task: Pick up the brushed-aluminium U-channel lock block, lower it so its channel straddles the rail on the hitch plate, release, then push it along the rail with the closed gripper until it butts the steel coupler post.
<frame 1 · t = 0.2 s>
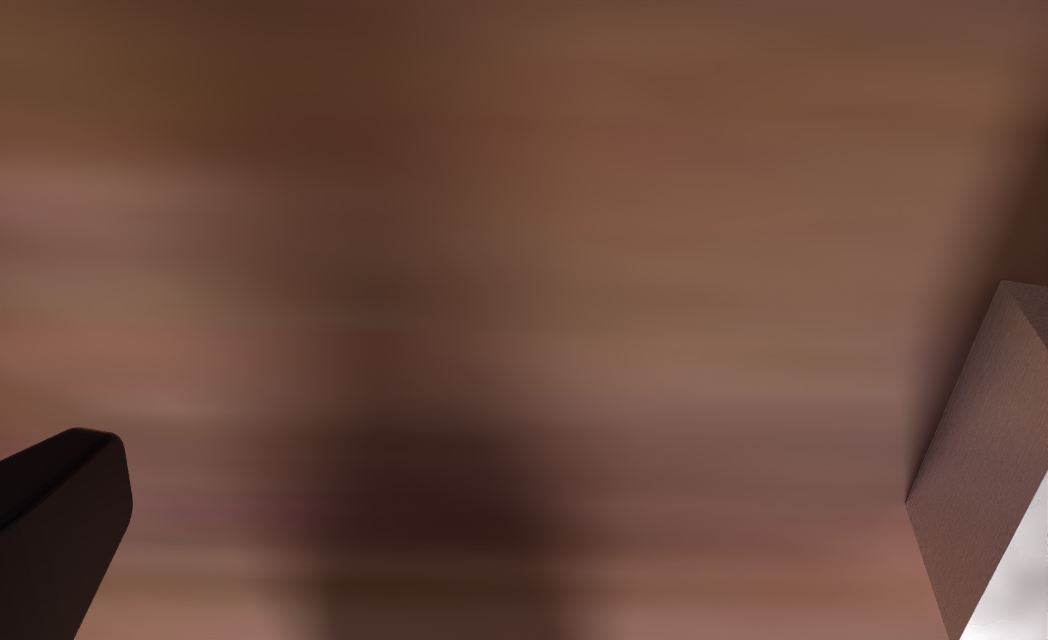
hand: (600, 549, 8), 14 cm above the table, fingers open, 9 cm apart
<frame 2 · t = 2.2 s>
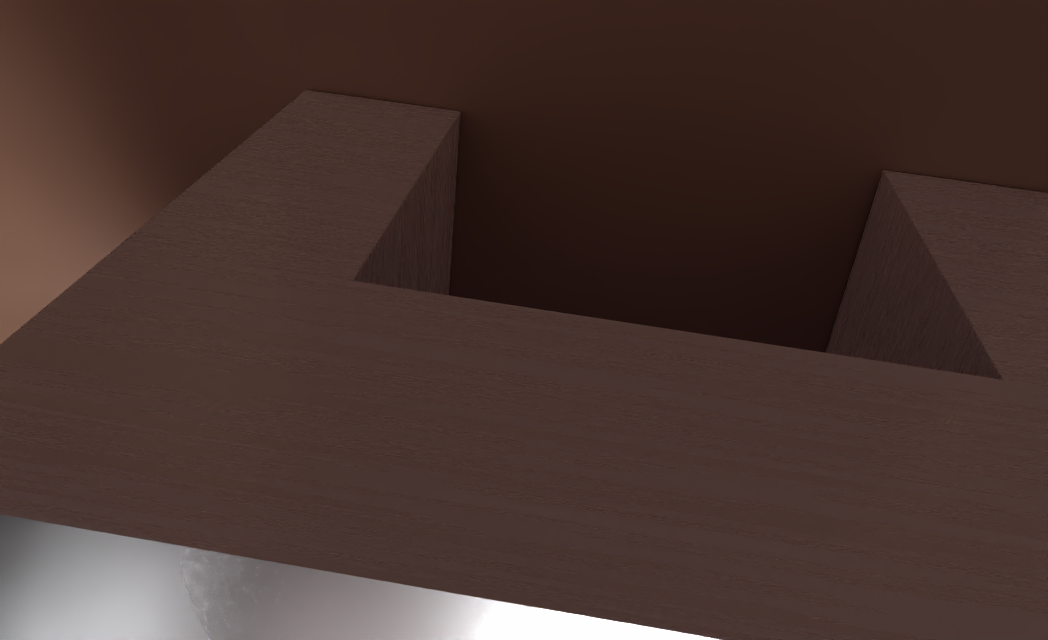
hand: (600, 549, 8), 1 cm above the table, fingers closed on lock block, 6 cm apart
lock block: (606, 475, 9), on the table, touching gripper
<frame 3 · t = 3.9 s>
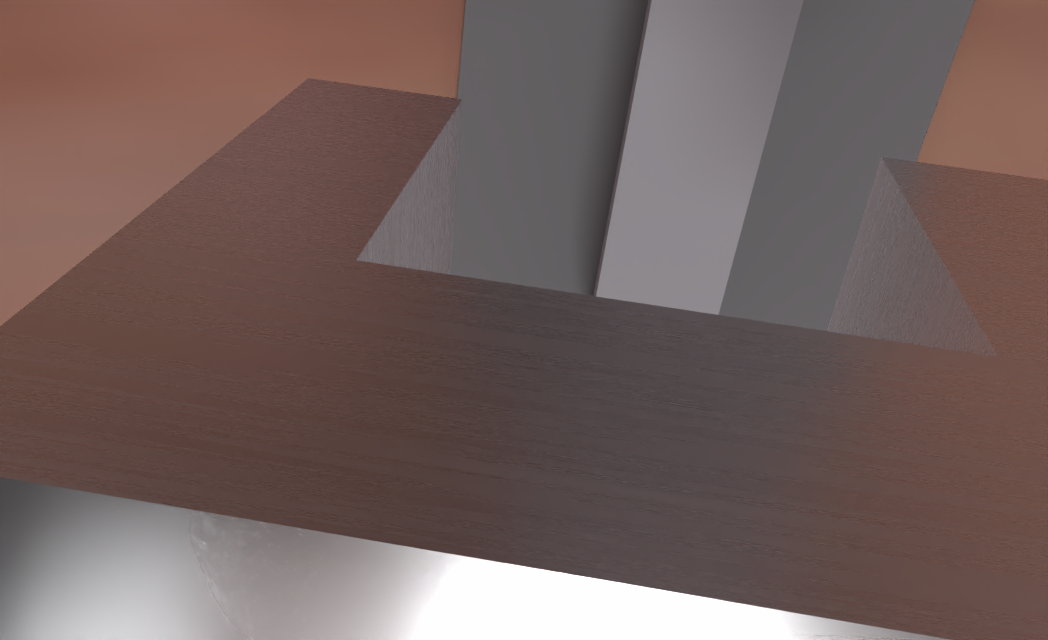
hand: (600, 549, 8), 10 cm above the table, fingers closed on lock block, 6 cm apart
lock block: (606, 463, 9), point 9 cm above the table, touching gripper
when the fingers open (3 cm above the table, at t = 5.7 s): lock block drops 1 cm, resting on hitch plate.
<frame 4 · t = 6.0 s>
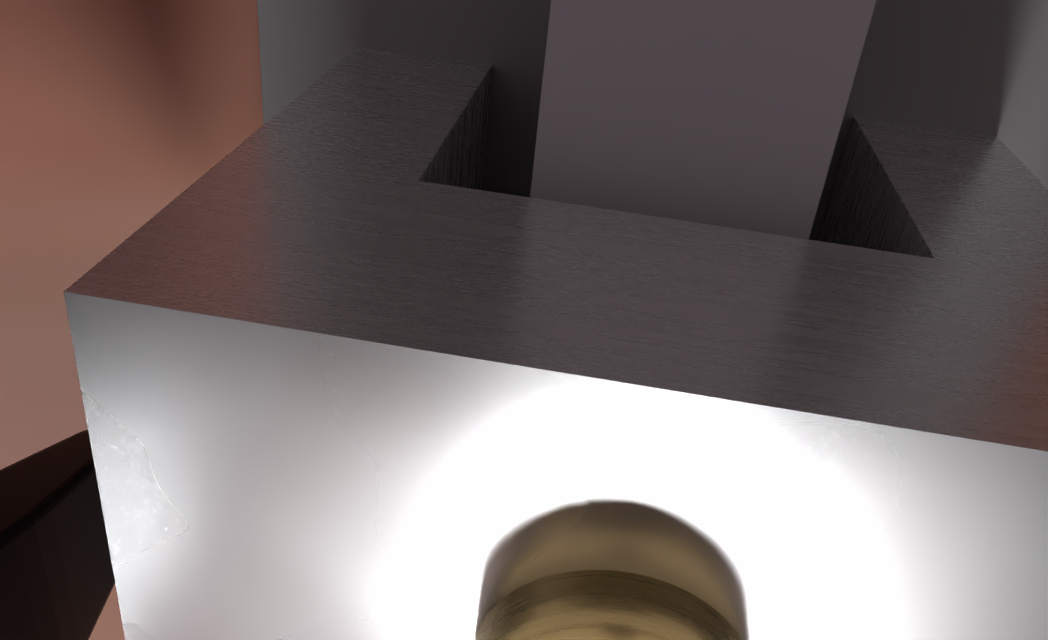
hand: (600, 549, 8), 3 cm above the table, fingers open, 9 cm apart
hitch plate: (681, 23, 9), on the table
lock block: (613, 393, 10), resting on hitch plate
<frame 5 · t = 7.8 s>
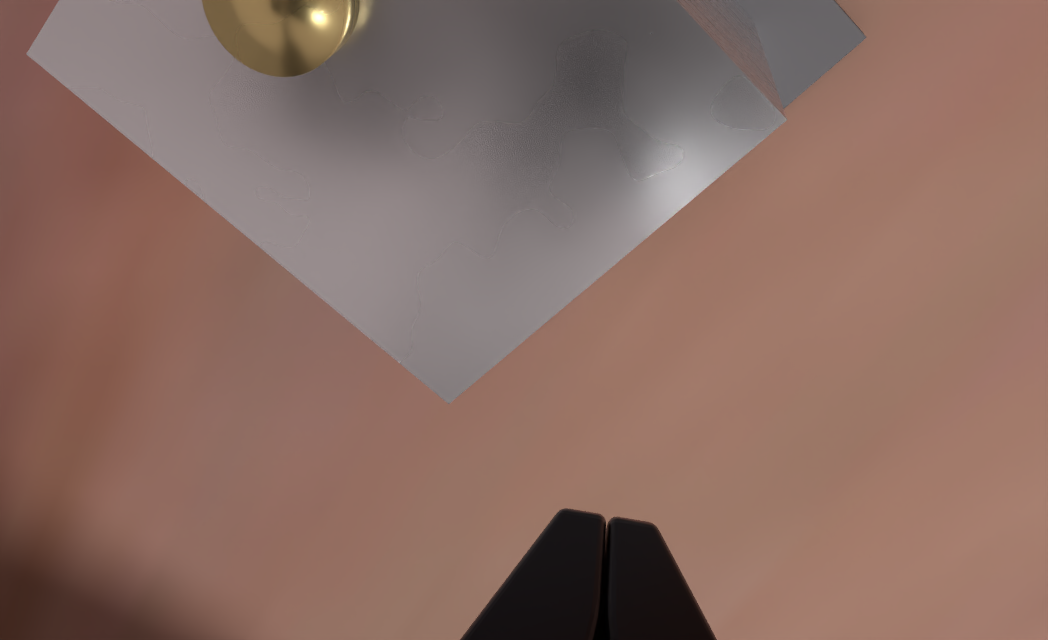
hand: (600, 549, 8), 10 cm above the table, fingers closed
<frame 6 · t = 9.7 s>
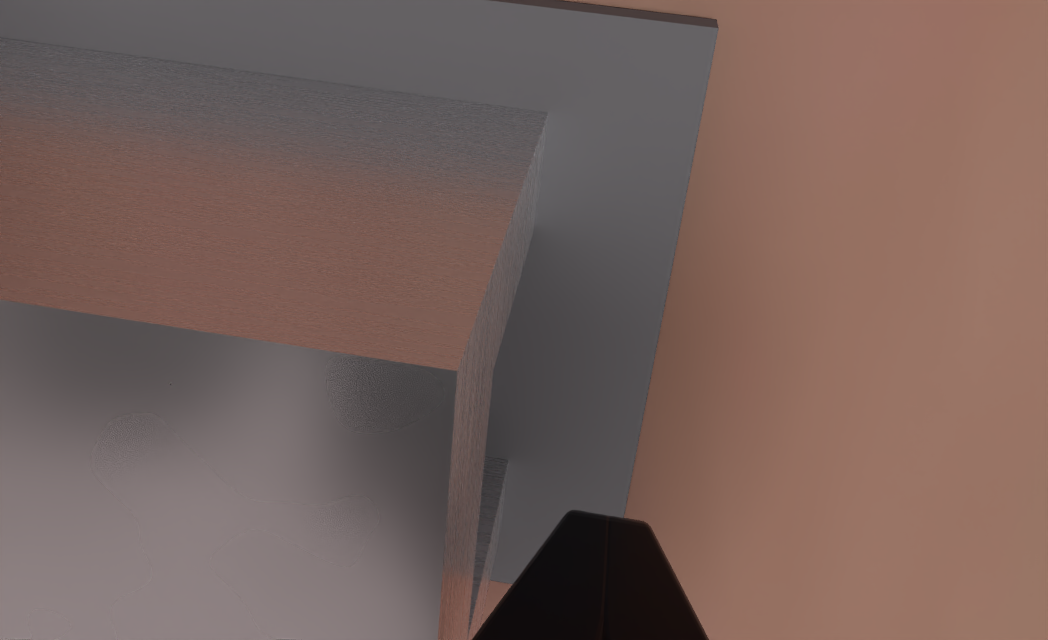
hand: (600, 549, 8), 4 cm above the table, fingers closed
lock block: (243, 308, 11), resting on hitch plate, touching gripper
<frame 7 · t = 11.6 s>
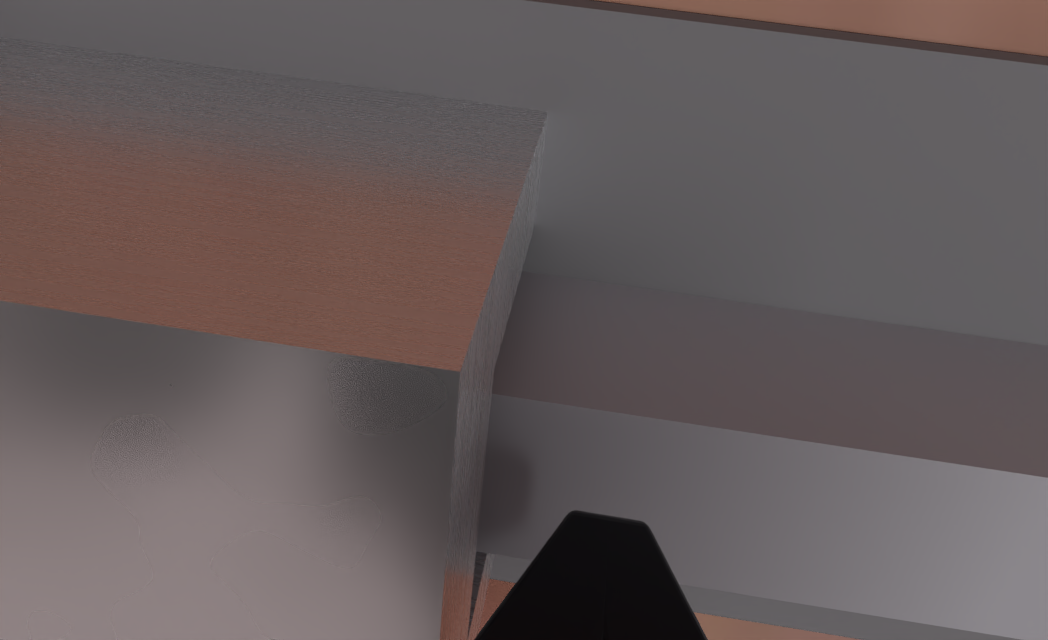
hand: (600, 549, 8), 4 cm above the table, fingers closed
hitch plate: (497, 324, 11), on the table
lock block: (241, 308, 11), resting on hitch plate, touching gripper
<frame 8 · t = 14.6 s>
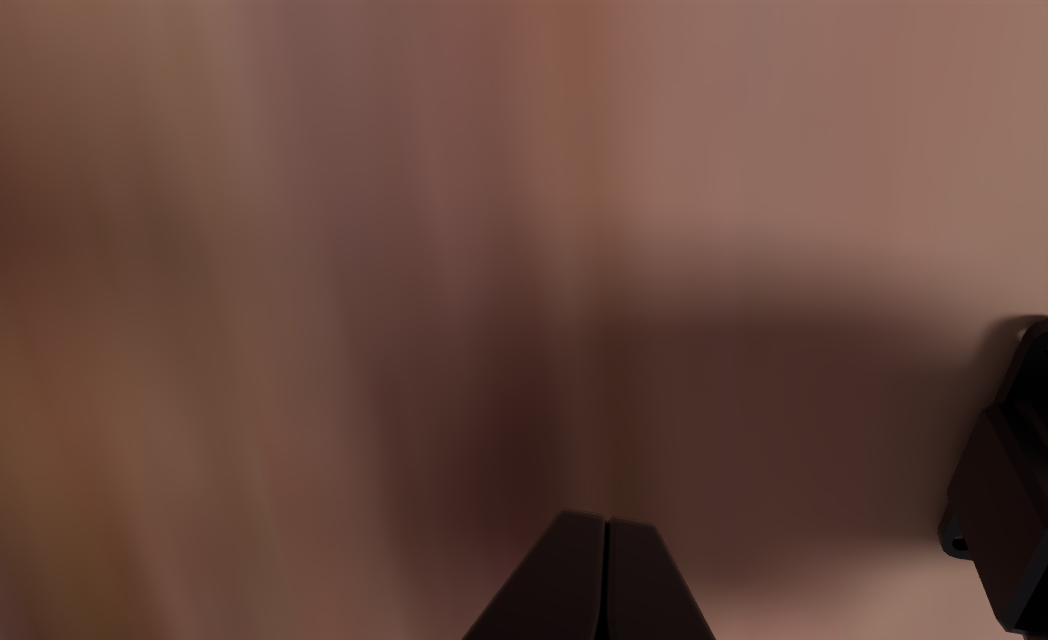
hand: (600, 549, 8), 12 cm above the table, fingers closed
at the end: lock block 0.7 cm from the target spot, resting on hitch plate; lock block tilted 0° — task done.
